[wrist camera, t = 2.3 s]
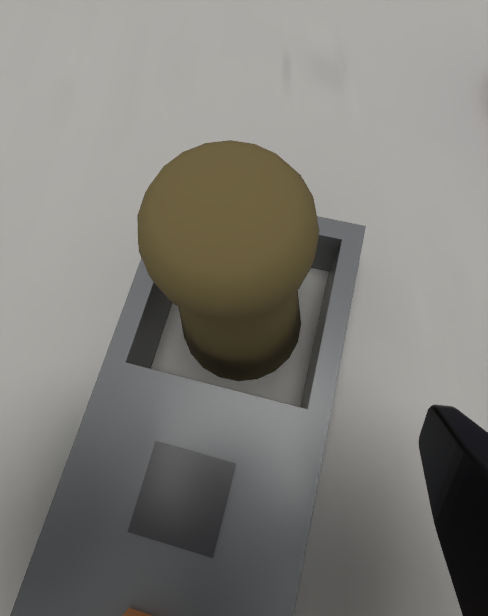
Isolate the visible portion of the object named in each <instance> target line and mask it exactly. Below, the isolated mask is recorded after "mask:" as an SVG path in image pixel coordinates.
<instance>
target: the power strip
mask: <svg viewBox="0 0 488 616" xmlns="http://www.w3.org/2000/svg"><path fill="white" fill-rule="evenodd" d="M317 220H318V226H319V237H318V243H317V249H316V254H315V258H314V261H313V264H312V266H311V267H313V268H318V269H322V270H327V271H329V274H328V279H327V284H326V288H325V293H324V298H323V303H322V308H321V312H320V317H319V322H318V327H317V332H316V336H315V341H314V346H313V351H312V356H311V360H310V365H309V370H308V375H307V380H306V384H305V389H304V394H303V399H302V404H301V408H300V407H296V406H293V405H289V404H285V403H281V402H277V401H273V400H269V399H265V398H262V397H258V396H254V395H250V394H246V393H242V392H238V391H234V390H230V389H227V388H223V387H219V386H215V385H211V384H207V383H203V382H199V381H196V380H192V379H188V378H184V377H180V376H176V375H172V374H168V373H165V372H161V371H157V370H153V369H150V368H151V365H152V362H153V359H154V356H155V353H156V349H157V346H158V343H159V340H160V337H161V334H162V331H163V328H164V325H165V322H166V319H167V316H168V313H169V310H170V307H171V304H172V302H171V301H170V300H169V299H168V298H167V297H166V295H165V294H164V293H163V292H162V291H161V290H160V289H159V288H158V286H157V285H156V284H155V283H154V282H153V280H152V279H151V278H150V276H149V275H148V272H147V270H146V267H145V265H144V262H143V260H142V258H141V261H140V264H139V266H138V269H137V272H136V274H135V277H134V280H133V283H132V285H131V288H130V291H129V294H128V296H127V299H126V302H125V304H124V307H123V310H122V313H121V315H120V318H119V321H118V324H117V326H116V329H115V332H114V334H113V337H112V340H111V343H110V345H109V348H108V351H107V354H106V356H105V359H104V362H103V364H102V367H101V370H100V373H99V375H98V378H97V381H96V384H95V386H94V389H93V392H92V394H91V397H90V400H89V403H88V405H87V408H86V411H85V413H84V416H83V419H82V422H81V424H80V427H79V430H78V433H77V435H76V438H75V441H74V443H73V446H72V449H71V452H70V454H69V457H68V460H67V463H66V465H65V468H64V471H63V473H62V476H61V479H60V482H59V484H58V487H57V490H56V493H55V495H54V498H53V501H52V503H51V506H50V509H49V512H48V514H47V517H46V520H45V523H44V525H43V528H42V531H41V533H40V536H39V539H38V542H37V544H36V547H35V550H34V553H33V555H32V558H31V561H30V563H29V566H28V569H27V572H26V574H25V577H24V580H23V582H22V585H21V588H20V591H19V593H18V596H17V599H16V602H15V604H14V607H13V610H12V612H11V615H10V616H294V611H295V605H296V600H297V594H298V589H299V584H300V578H301V573H302V567H303V562H304V556H305V551H306V546H307V540H308V535H309V529H310V524H311V519H312V513H313V508H314V502H315V497H316V492H317V486H318V481H319V475H320V470H321V465H322V459H323V454H324V448H325V443H326V438H327V432H328V427H329V421H330V416H331V411H332V405H333V400H334V394H335V389H336V383H337V378H338V373H339V367H340V362H341V356H342V351H343V346H344V340H345V335H346V329H347V324H348V319H349V313H350V308H351V302H352V297H353V292H354V286H355V281H356V275H357V270H358V265H359V259H360V254H361V248H362V243H363V238H364V232H365V227H366V226H362V225H357V224H352V223H347V222H342V221H337V220H333V219H328V218H323V217H318V216H317Z"/></svg>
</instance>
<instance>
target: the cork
mask: <svg viewBox="0 0 488 616" xmlns="http://www.w3.org/2000/svg"><path fill="white" fill-rule="evenodd" d="M318 237H319V226H318V220H317V215H316V209H315V204H314V199H313V196H312V194H311V192H310V191H309V189H308V187H307V185H306V184H305V182H304V180H303V179H302V177H301V175H300V174H299V173H298V172H296V171H295V170H294V169H293V168H292V167H291V166H290V165H288V164H287V163H286V162H285V161H284V160H283V159H282V158H280V157H279V156H278V155H277V154H275V153H273V152H271V151H269V150H266V149H264V148H262V147H260V146H258V145H255V144H250V143H244V142H237V141H222V142H213V143H205V144H203V145H200V146H198V147H195V148H192V149H190V150H187V151H185V152H183V153H181V154H180V155H179V156H177V157H176V158H175V159H173V160H172V161H170V162H169V163H168V164H166V165H165V166H164V167H163V168H162V170H161V171H160V172H159V174H158V175H157V176H156V178H155V179H154V180H153V182H152V183H151V184H150V186H149V187H148V189H147V191H146V192H145V195H144V198H143V201H142V204H141V207H140V210H139V213H138V245H139V252H140V255H141V257H142V260H143V262H144V265H145V267H146V270H147V272H148V275H149V276H150V278H151V279H152V280H153V282H154V283H155V284H156V285H157V286H158V288H159V289H160V290H161V291H162V292H163V293H164V294H165V295H166V297H167V298H168V299H169V300H170V301H171V302H172V303H174V304H176V305H177V306H179V311H180V317H181V322H182V328H183V333H184V338H185V340H186V342H187V345H188V347H189V350H190V352H191V354H192V355H193V356H194V358H195V359H196V360H197V361H198V362H199V363H200V364H201V366H202V367H203V368H205V369H207V370H208V371H210V372H212V373H214V374H215V375H217V376H219V377H222V378H227V379H232V380H236V381H242V380H251V379H258V378H260V377H263V376H265V375H267V374H269V373H271V372H274V371H275V370H276V369H278V368H279V367H280V366H281V365H282V364H283V363H284V362H285V361H286V360H287V359H288V358H289V357H290V355H291V353H292V352H293V350H294V348H295V346H296V344H297V342H298V338H299V332H300V327H301V320H300V310H299V301H298V292H297V290H298V289H299V287H300V286H301V284H302V282H303V280H304V279H305V277H306V275H307V273H308V272H309V270H310V268H311V266H312V264H313V261H314V258H315V254H316V249H317V243H318Z"/></svg>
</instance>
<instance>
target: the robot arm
mask: <svg viewBox="0 0 488 616" xmlns="http://www.w3.org/2000/svg"><path fill="white" fill-rule="evenodd" d="M419 450H420V455H421V460H422V465H423V470H424V475H425V480H426V485H427V490H428V495H429V500H430V505H431V510H432V515H433V519H434V524H435V527H436V531H437V534H438V538H439V541H440V544H441V547H442V551H443V554H444V557H445V560H446V563H447V567H448V570H449V573H450V576H451V579H452V582H453V586H454V589H455V592H456V595H457V598H458V602H459V605H460V608H461V611H462V614H463V616H488V432H486V431H485V430H484V429H482V428H481V427H480V426H478V425H477V424H476V423H475V422H473V421H472V420H471V419H469V418H468V417H467V416H465V415H464V414H463V413H461V412H460V411H459V410H458V409H456V408H454V407H452V406H442V405H432V406H430V408H429V409H428V412H427V415H426V418H425V421H424V424H423V427H422V430H421V433H420V436H419Z"/></svg>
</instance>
